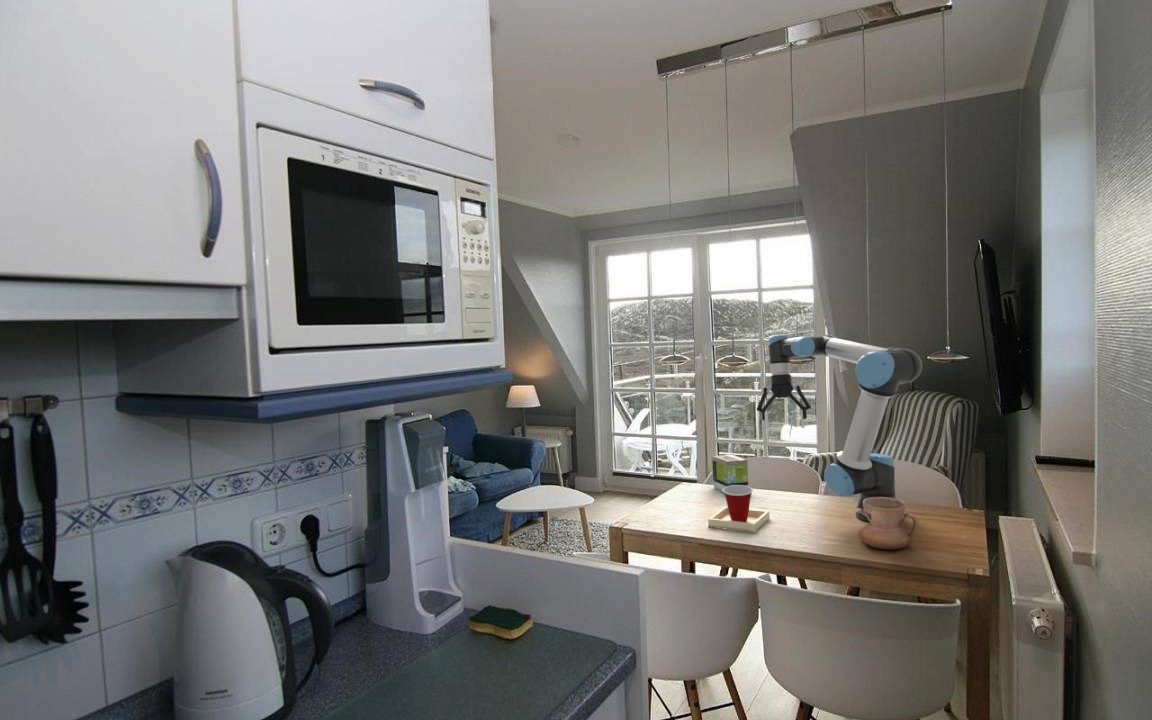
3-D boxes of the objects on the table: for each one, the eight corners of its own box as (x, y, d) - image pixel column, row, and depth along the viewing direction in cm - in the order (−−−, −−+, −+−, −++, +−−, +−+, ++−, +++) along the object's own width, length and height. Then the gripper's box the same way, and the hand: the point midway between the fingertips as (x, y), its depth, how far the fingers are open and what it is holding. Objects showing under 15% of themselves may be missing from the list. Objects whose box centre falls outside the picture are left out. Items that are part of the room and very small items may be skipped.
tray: (769, 519, 237) (769, 511, 237) (754, 532, 223) (754, 524, 223) (725, 514, 247) (725, 506, 247) (708, 527, 233) (708, 518, 233)
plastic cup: (723, 525, 231) (722, 492, 231) (724, 516, 242) (722, 484, 241) (755, 525, 229) (753, 492, 228) (754, 516, 239) (752, 484, 239)
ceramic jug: (853, 549, 201) (852, 505, 201) (858, 535, 214) (857, 493, 213) (917, 558, 193) (917, 511, 192) (919, 542, 205) (918, 498, 204)
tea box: (749, 493, 275) (747, 459, 275) (728, 496, 273) (726, 461, 272) (733, 485, 290) (731, 453, 289) (712, 488, 288) (711, 455, 287)
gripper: (815, 372, 250) (819, 426, 249) (751, 376, 261) (754, 428, 260) (812, 371, 243) (817, 427, 242) (746, 376, 255) (750, 429, 254)
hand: (785, 428), depth 251 cm, fingers open, 13 cm apart
